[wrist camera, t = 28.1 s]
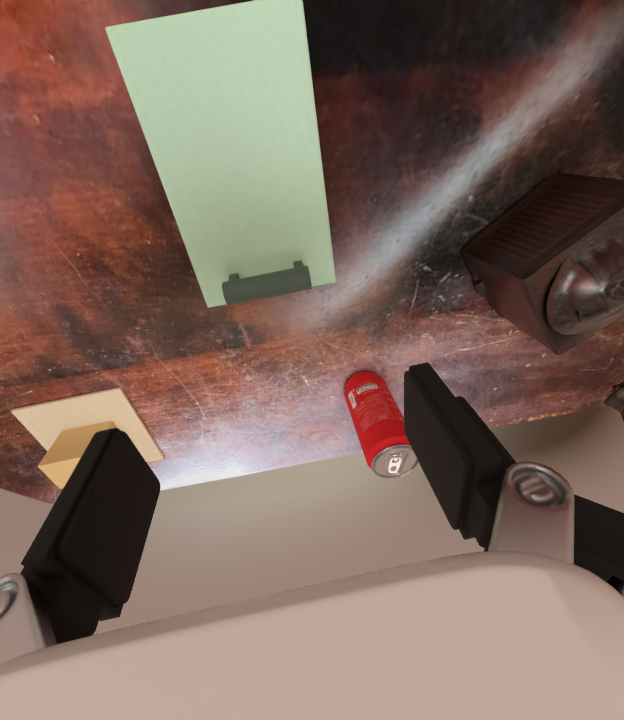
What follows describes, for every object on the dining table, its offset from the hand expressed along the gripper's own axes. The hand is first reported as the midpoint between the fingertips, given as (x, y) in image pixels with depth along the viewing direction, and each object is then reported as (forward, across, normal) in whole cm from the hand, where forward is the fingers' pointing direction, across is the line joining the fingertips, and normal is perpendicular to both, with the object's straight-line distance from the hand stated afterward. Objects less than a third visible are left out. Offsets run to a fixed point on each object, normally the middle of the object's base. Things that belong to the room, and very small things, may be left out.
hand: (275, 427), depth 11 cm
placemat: (+23, +25, +18) cm, 38 cm away
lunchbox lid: (+18, 0, -6) cm, 19 cm away
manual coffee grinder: (+24, -27, +8) cm, 37 cm away
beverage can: (+24, -8, +19) cm, 31 cm away
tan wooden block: (+23, +25, +18) cm, 38 cm away
